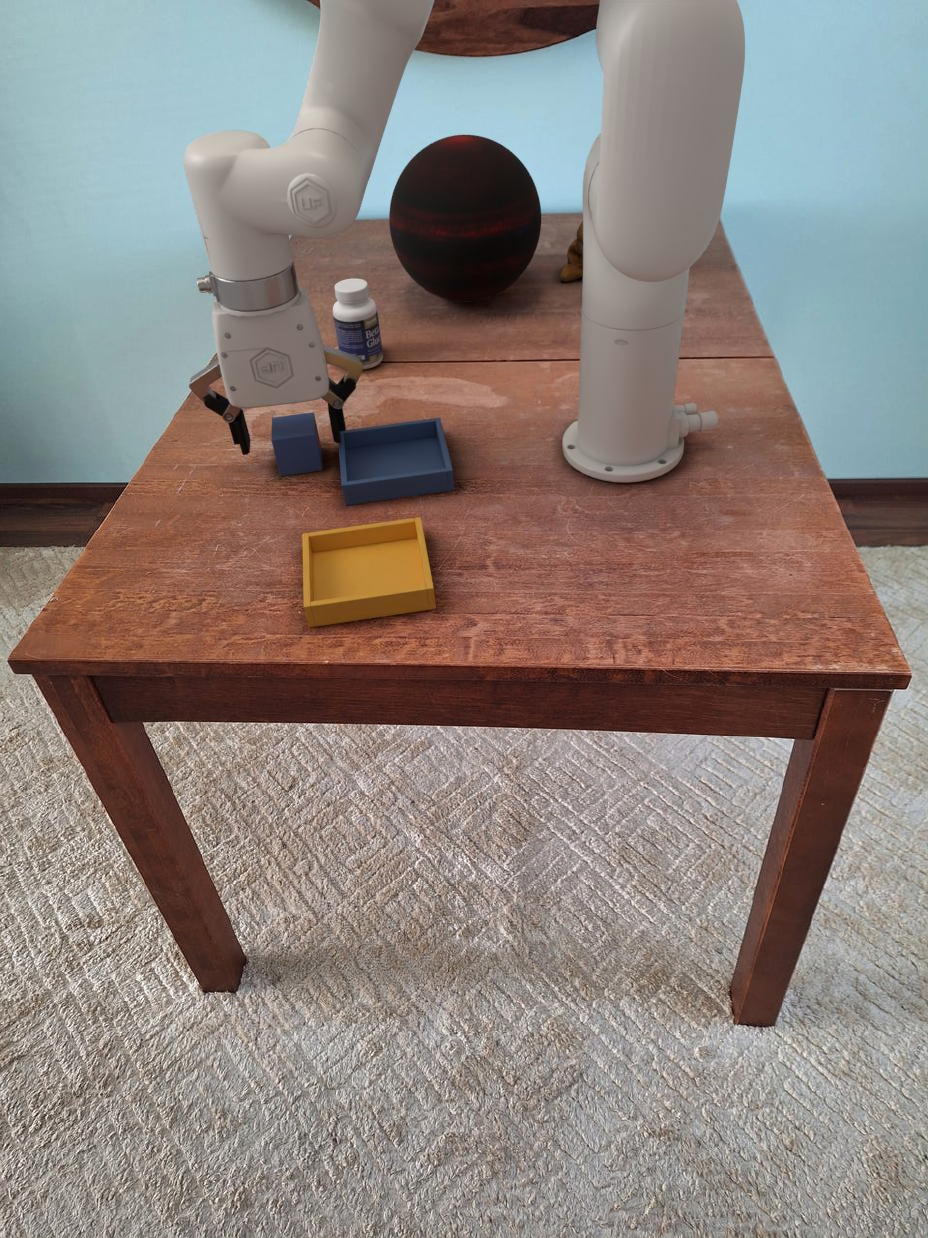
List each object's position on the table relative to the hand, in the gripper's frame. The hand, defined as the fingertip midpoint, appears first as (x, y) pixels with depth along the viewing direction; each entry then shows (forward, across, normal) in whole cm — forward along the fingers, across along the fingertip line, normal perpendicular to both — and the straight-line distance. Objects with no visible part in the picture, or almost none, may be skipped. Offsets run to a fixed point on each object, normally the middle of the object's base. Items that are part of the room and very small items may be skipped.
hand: (292, 442), depth 92 cm
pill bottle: (+3, +8, +21) cm, 23 cm away
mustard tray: (+2, +6, -21) cm, 22 cm away
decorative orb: (+2, +24, +36) cm, 44 cm away
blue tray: (+2, +10, -4) cm, 12 cm away
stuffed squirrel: (+2, +44, +40) cm, 60 cm away
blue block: (+2, 0, 0) cm, 3 cm away
